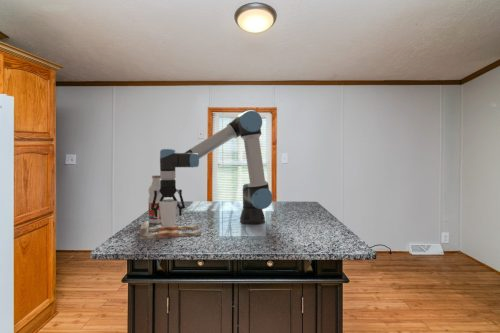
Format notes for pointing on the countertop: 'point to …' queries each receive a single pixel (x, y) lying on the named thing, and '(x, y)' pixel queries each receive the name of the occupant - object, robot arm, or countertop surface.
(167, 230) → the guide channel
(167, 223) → the foam cup
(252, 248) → the countertop surface
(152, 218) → the fruit juice
